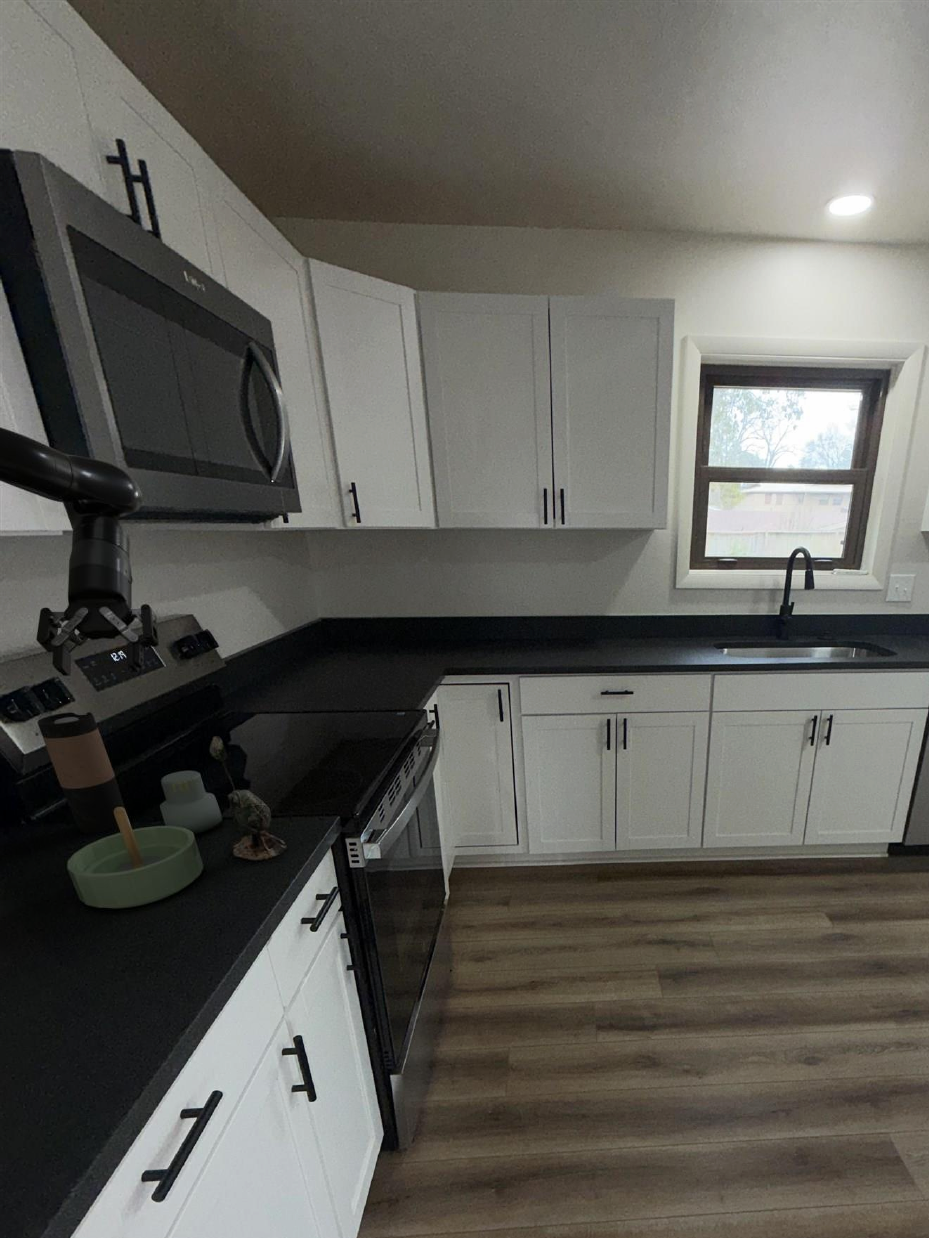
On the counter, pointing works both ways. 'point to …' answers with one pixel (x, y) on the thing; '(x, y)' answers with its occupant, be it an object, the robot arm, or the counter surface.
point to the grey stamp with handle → (131, 844)
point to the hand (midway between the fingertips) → (99, 670)
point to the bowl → (140, 884)
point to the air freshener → (188, 802)
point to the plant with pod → (249, 818)
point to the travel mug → (82, 769)
